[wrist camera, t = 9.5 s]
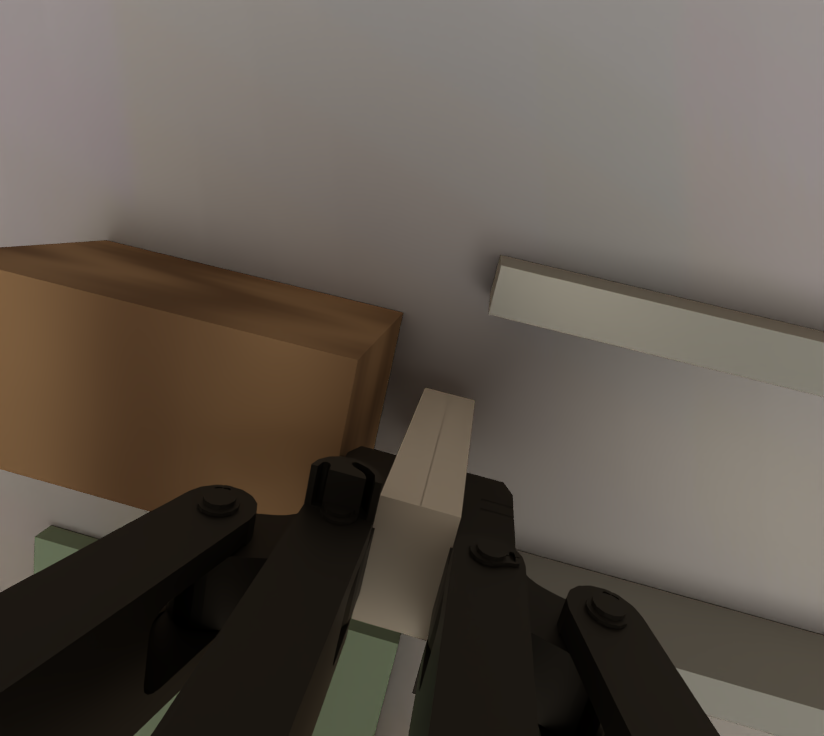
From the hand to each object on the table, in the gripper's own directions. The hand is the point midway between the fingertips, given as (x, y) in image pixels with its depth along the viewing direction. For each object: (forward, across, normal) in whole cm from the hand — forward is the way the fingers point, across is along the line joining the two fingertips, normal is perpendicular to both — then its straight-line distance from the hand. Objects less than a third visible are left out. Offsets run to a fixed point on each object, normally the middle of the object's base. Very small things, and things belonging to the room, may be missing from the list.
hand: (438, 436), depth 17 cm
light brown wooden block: (+2, -7, 0) cm, 7 cm away
